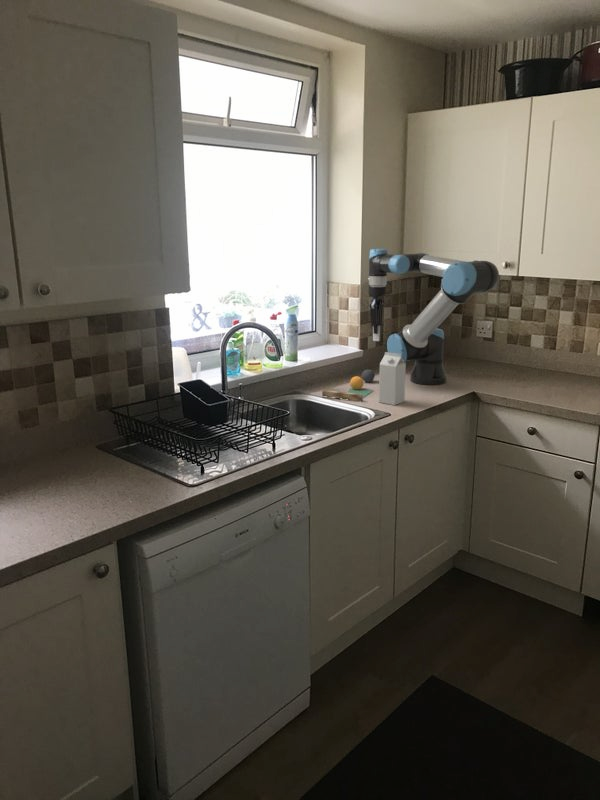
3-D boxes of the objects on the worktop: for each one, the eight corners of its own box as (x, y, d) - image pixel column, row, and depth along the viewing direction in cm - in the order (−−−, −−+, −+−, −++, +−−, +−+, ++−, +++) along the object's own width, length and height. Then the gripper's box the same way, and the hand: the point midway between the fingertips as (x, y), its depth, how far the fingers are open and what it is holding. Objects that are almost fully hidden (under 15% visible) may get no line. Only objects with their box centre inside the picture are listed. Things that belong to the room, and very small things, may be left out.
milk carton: (388, 398, 255) (389, 350, 250) (404, 401, 250) (406, 352, 245) (378, 402, 249) (379, 353, 244) (394, 405, 245) (396, 355, 240)
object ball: (365, 388, 270) (365, 375, 269) (360, 391, 265) (360, 378, 264) (352, 387, 272) (352, 374, 271) (347, 390, 268) (348, 377, 266)
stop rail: (362, 400, 253) (362, 394, 252) (360, 401, 251) (360, 395, 250) (324, 396, 259) (324, 390, 258) (322, 397, 257) (322, 391, 257)
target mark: (373, 390, 266) (373, 390, 266) (361, 399, 254) (361, 398, 254) (341, 387, 272) (341, 387, 272) (328, 395, 260) (328, 395, 260)
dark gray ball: (376, 381, 282) (376, 368, 281) (372, 384, 278) (372, 371, 276) (364, 380, 285) (364, 367, 283) (359, 382, 280) (360, 370, 278)
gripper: (374, 284, 287) (373, 337, 293) (364, 287, 275) (363, 342, 281) (390, 284, 284) (389, 338, 290) (381, 287, 272) (379, 343, 278)
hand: (376, 340), depth 286 cm, fingers closed
